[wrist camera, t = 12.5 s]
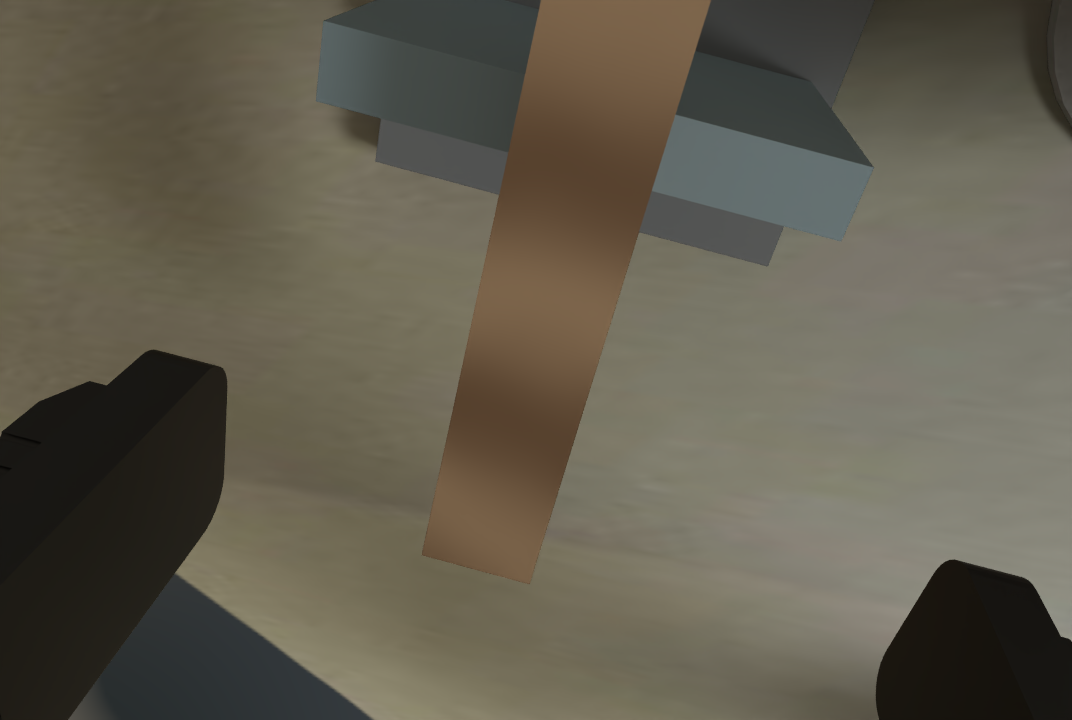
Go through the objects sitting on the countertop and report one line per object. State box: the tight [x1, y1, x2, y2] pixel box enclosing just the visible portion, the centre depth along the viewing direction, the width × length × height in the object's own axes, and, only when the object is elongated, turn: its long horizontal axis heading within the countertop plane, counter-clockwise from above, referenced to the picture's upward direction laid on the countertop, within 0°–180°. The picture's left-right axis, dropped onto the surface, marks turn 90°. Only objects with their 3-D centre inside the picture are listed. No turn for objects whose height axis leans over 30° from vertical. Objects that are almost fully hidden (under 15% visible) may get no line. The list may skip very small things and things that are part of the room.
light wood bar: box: [422, 0, 711, 584], centre depth 20 cm, size 24×3×4 cm, turn 167°
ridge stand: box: [316, 0, 875, 266], centre depth 27 cm, size 12×16×12 cm
